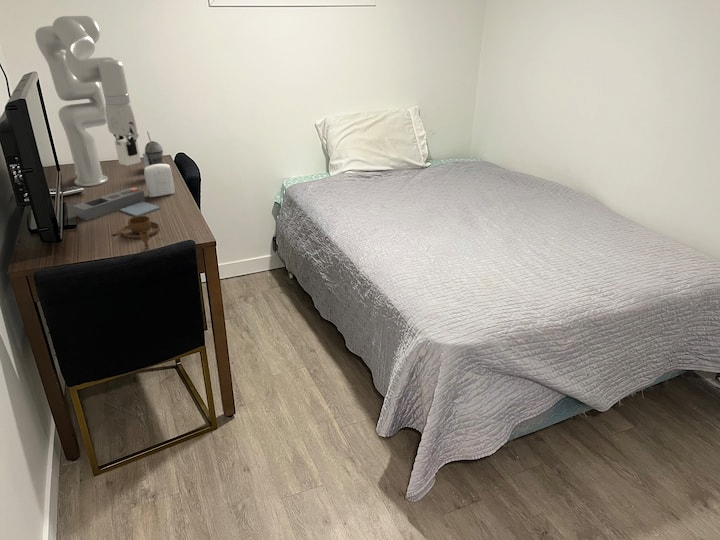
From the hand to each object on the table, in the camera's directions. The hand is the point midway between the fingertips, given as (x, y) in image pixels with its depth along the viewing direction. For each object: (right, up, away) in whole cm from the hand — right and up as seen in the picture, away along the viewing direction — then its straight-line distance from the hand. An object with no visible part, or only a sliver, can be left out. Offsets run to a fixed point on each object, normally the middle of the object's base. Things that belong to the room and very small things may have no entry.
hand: (128, 153), depth 181 cm
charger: (0, -3, +2) cm, 3 cm away
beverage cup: (-6, -1, +43) cm, 44 cm away
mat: (0, -19, +10) cm, 21 cm away
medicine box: (-12, +4, +53) cm, 55 cm away
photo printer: (+2, -11, +25) cm, 27 cm away
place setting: (+8, -31, -10) cm, 33 cm away
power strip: (-11, -18, +11) cm, 24 cm away
